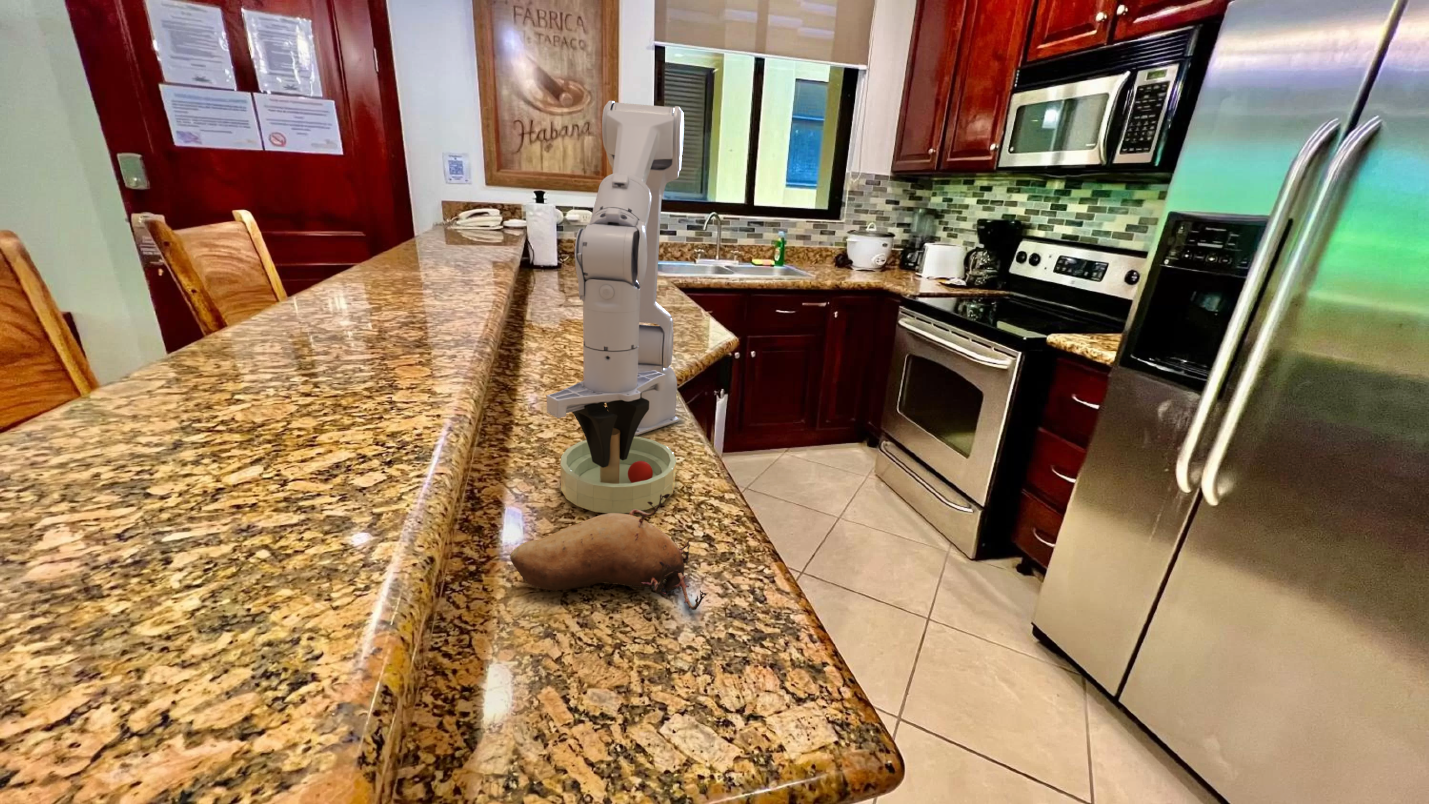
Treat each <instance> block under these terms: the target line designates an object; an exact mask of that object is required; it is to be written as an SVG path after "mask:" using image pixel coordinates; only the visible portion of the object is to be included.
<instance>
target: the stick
mask: <svg viewBox="0 0 1429 804" xmlns="http://www.w3.org/2000/svg"><path fill="white" fill-rule="evenodd" d="M619 470H620V431H619V430H618V429H616V428H613V431H612V435H611V442H610V460H609V464H608V466H607V467H604V468H602V467H601V466H600V482H602V483H611V484H619Z"/></svg>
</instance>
